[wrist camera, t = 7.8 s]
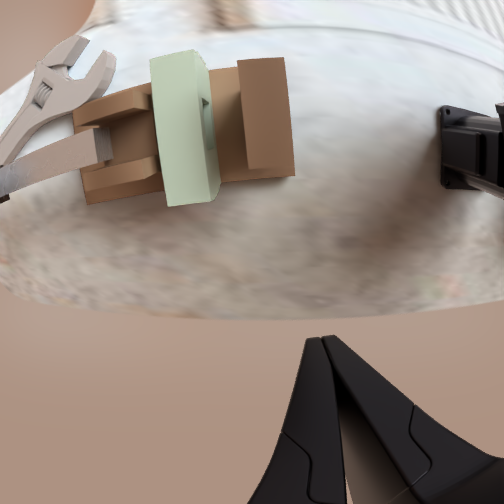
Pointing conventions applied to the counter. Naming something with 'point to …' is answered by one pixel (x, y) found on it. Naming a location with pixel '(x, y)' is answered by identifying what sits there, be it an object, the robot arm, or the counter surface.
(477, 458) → the robot arm
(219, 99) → the stand
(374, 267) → the counter surface
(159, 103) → the spacer
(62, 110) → the adjustable wrench
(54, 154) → the shaft
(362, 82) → the counter surface
